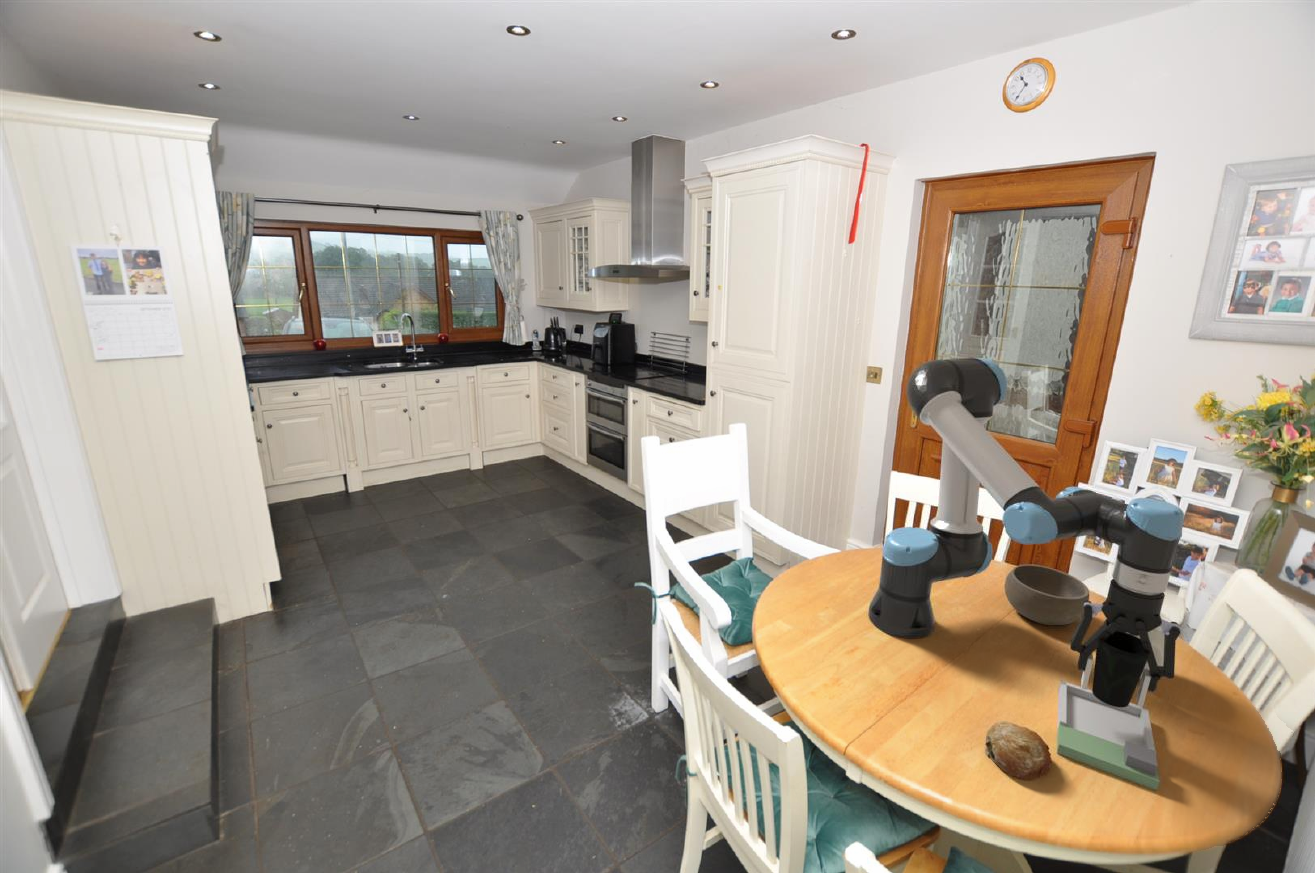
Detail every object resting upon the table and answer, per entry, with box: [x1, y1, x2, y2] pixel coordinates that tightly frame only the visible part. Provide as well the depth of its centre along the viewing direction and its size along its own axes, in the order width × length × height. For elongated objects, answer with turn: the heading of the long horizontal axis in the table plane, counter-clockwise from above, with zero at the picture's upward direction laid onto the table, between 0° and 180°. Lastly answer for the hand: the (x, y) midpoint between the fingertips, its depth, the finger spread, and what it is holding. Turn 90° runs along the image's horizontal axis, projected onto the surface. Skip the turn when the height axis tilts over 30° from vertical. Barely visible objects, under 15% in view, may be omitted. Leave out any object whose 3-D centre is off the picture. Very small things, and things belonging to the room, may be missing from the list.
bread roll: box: [984, 721, 1052, 781], centre depth 103 cm, size 10×10×8 cm
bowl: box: [1004, 564, 1090, 626], centre depth 146 cm, size 17×18×10 cm
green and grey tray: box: [1056, 680, 1161, 792], centre depth 108 cm, size 14×20×4 cm
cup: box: [1091, 631, 1150, 707], centre depth 107 cm, size 8×8×12 cm
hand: (1110, 693), depth 109 cm, fingers closed on cup, 8 cm apart
